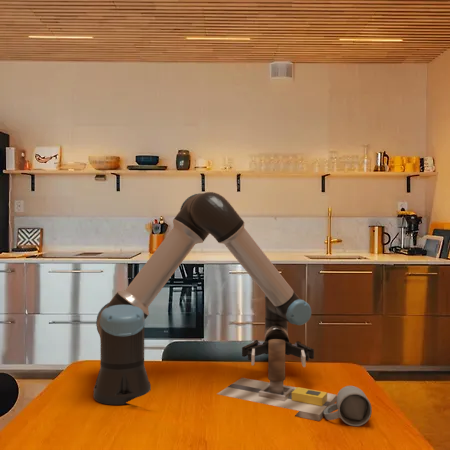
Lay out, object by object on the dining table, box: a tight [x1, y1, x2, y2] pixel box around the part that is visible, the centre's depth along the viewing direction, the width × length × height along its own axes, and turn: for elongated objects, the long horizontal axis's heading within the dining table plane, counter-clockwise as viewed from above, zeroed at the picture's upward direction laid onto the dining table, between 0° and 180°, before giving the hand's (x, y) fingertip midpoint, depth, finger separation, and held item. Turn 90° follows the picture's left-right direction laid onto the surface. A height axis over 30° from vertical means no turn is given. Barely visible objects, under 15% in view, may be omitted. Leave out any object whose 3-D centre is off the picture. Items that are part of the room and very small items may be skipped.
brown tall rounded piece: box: [267, 339, 286, 395], centre depth 127 cm, size 4×4×14 cm
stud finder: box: [292, 386, 328, 406], centre depth 123 cm, size 8×4×2 cm, turn 61°
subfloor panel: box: [216, 377, 338, 422], centre depth 127 cm, size 28×15×3 cm, turn 62°
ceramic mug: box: [323, 385, 373, 427], centre depth 116 cm, size 11×8×8 cm
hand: (278, 360), depth 128 cm, fingers open, 13 cm apart
